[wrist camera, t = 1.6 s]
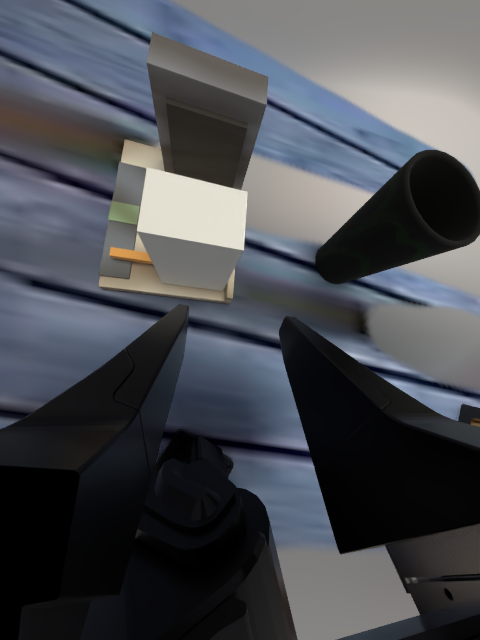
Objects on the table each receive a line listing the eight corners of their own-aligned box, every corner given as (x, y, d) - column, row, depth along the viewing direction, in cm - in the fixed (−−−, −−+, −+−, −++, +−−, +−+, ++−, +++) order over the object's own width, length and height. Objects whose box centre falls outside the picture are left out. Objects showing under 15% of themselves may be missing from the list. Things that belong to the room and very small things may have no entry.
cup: (297, 261, 25) (388, 186, 13) (329, 225, 27) (434, 130, 15) (339, 304, 25) (463, 267, 14) (368, 265, 27) (498, 204, 16)
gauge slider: (222, 291, 21) (243, 250, 12) (111, 276, 18) (37, 213, 10) (225, 255, 21) (247, 192, 13) (118, 237, 19) (54, 144, 10)
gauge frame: (229, 303, 22) (257, 269, 12) (103, 289, 19) (12, 230, 10) (238, 177, 24) (268, 66, 15) (128, 148, 22) (75, -11, 12)
